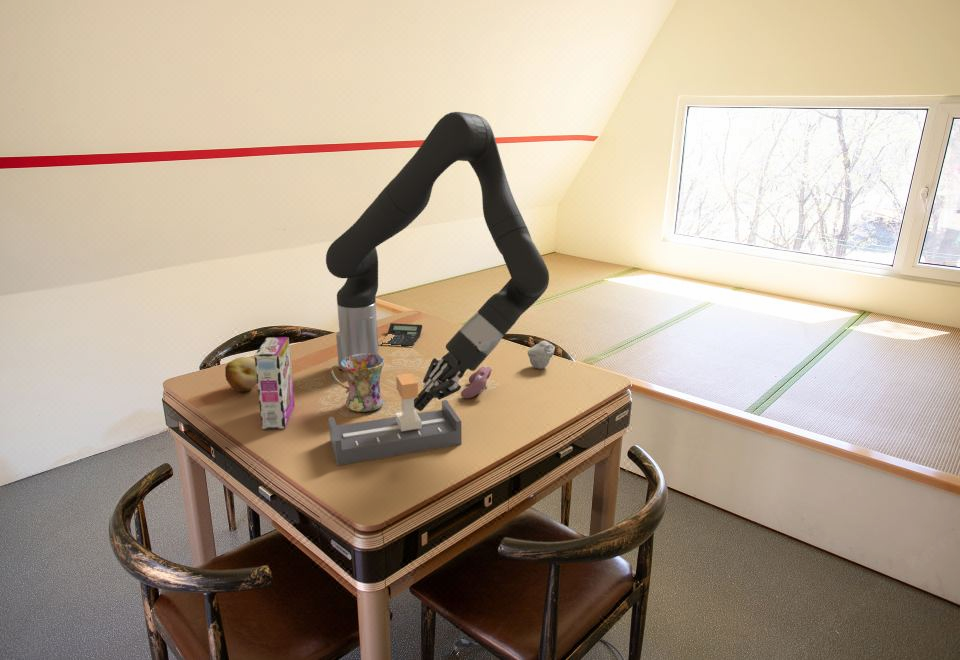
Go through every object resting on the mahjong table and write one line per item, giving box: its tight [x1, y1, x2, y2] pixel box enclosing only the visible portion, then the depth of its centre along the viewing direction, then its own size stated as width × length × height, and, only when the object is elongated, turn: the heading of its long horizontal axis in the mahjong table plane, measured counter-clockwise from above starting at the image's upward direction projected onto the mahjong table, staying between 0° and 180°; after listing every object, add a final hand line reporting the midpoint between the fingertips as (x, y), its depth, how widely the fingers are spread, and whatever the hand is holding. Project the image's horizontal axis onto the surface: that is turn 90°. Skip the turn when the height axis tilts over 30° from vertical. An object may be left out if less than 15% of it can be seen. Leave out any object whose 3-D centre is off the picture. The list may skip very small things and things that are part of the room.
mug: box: [330, 354, 386, 413], centre depth 143 cm, size 12×9×11 cm
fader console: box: [328, 399, 463, 466], centre depth 128 cm, size 24×10×5 cm, turn 109°
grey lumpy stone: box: [527, 340, 556, 370], centre depth 164 cm, size 6×7×7 cm
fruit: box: [224, 356, 257, 392], centre depth 151 cm, size 8×8×8 cm
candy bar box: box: [254, 336, 296, 430], centre depth 136 cm, size 11×5×16 cm, turn 5°
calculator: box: [382, 322, 423, 347], centre depth 185 cm, size 9×12×3 cm
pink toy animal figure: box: [460, 365, 493, 400], centre depth 151 cm, size 10×5×7 cm, turn 169°
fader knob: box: [394, 373, 422, 431], centre depth 127 cm, size 4×5×10 cm
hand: (415, 407), depth 128 cm, fingers closed
